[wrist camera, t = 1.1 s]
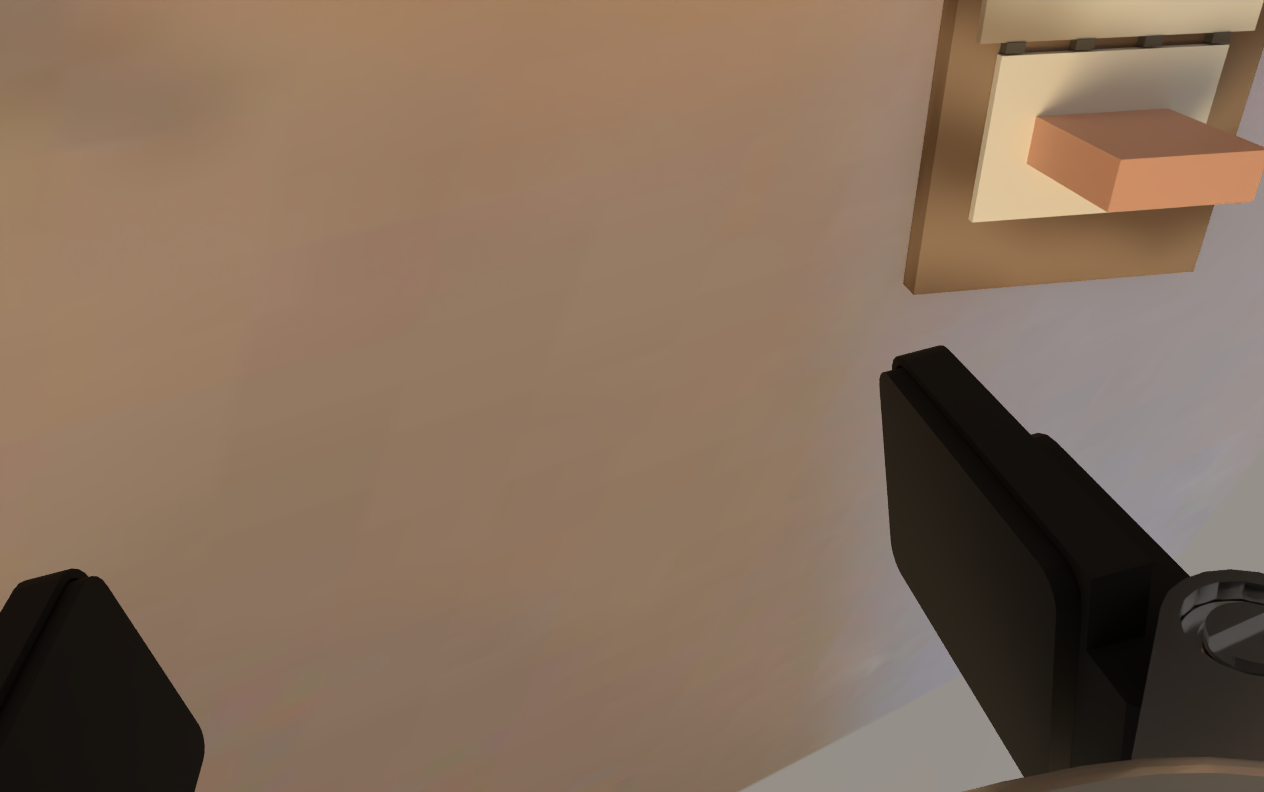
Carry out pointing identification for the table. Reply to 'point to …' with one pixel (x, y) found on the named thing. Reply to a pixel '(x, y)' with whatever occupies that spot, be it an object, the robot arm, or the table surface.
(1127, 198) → the stub
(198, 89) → the table surface
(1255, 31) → the ticket board
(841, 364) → the table surface
